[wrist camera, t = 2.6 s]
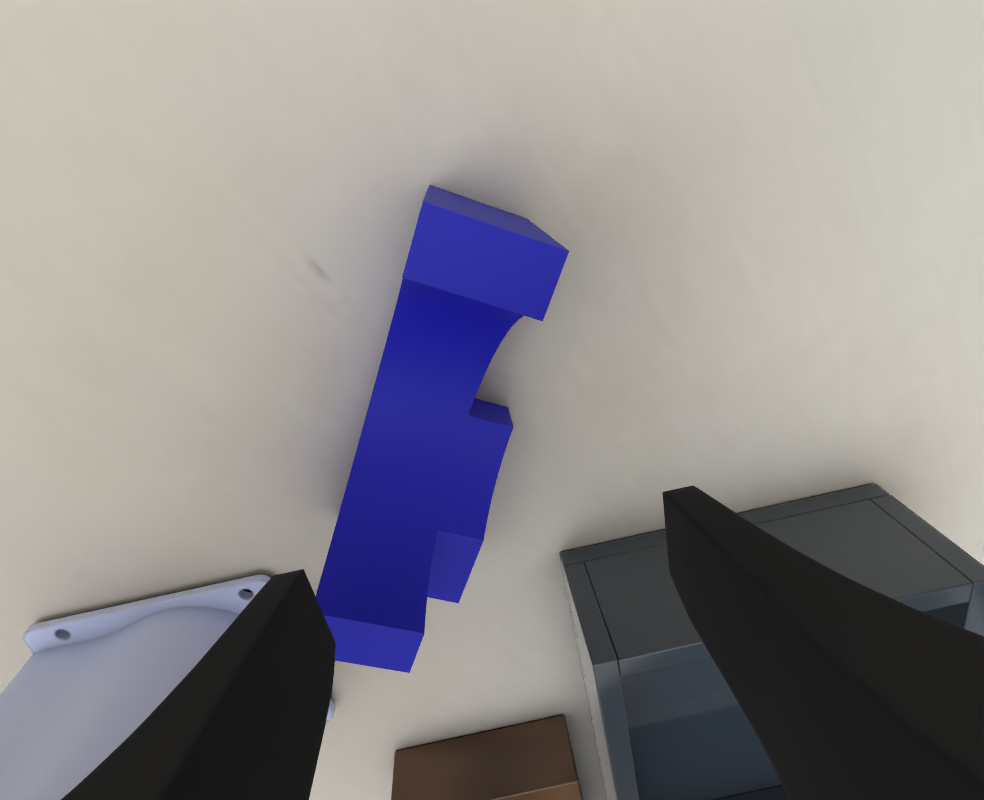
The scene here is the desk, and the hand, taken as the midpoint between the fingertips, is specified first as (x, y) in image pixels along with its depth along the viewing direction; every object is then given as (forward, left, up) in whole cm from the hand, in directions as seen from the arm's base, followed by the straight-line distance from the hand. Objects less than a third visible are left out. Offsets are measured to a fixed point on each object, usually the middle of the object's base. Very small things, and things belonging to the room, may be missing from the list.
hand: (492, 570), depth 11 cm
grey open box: (+8, -16, -8) cm, 20 cm away
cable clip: (-1, 0, -9) cm, 9 cm away
